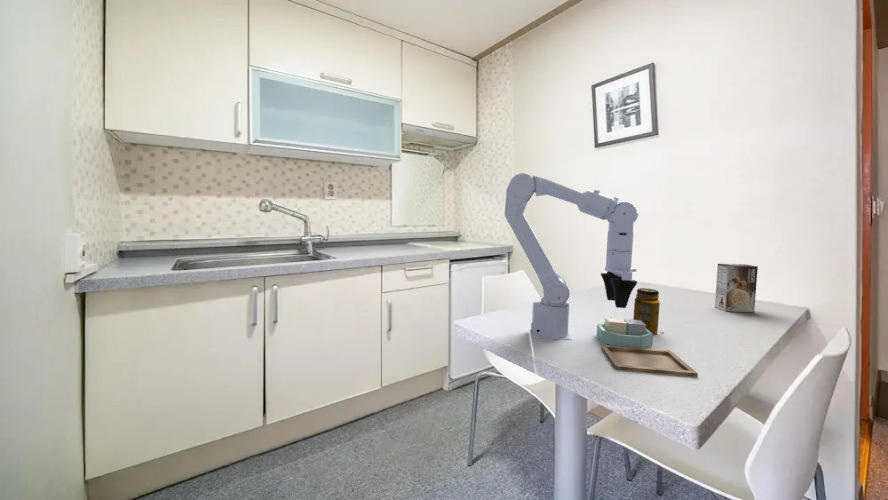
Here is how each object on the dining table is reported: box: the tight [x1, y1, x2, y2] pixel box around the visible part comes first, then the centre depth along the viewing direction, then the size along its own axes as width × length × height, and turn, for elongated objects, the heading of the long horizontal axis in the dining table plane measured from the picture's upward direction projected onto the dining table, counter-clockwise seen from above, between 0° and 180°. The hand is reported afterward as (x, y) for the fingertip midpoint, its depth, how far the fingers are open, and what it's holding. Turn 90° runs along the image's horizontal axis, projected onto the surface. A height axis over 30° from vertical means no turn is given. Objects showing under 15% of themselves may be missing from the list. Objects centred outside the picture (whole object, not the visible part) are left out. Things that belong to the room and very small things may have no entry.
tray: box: [600, 344, 699, 378], centre depth 75 cm, size 15×12×1 cm
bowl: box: [596, 321, 654, 349], centre depth 87 cm, size 12×12×4 cm
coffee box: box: [714, 263, 759, 313], centre depth 120 cm, size 9×6×16 cm
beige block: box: [604, 317, 627, 335], centre depth 88 cm, size 4×4×5 cm
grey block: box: [622, 318, 646, 336], centre depth 87 cm, size 4×4×5 cm
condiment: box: [632, 287, 665, 335], centre depth 95 cm, size 7×8×12 cm
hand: (616, 303), depth 87 cm, fingers open, 7 cm apart
